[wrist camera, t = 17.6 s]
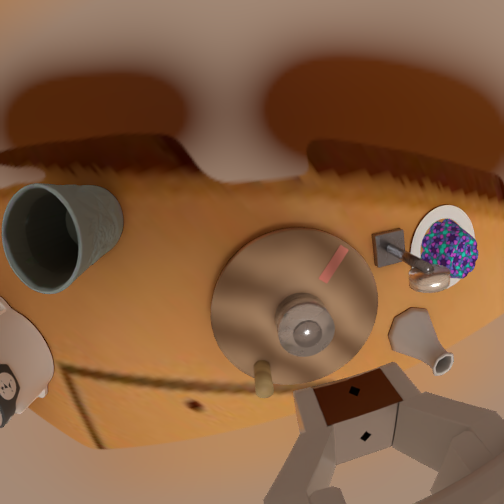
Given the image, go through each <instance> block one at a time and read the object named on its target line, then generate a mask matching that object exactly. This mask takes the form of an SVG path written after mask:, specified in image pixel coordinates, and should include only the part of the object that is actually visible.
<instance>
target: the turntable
mask: <svg viewBox="0 0 504 504" xmlns="http://www.w3.org/2000/svg"><path fill="white" fill-rule="evenodd" d="M302 292H303V293H310V294H313V295H315V296H316V297H318V298H319V299H320V300H321V301H322V303H323V304H324V306H325V308H326V309H327V311H328V312H329V314H330V316H331V317H332V319H333V321H334V325H335V332H334V336H333V339H332V341H331V342H330V344H329V345H328V346H327V347H326V348H325V349H324V350H322V351H321V352H319V353H317V354H315V355H312V356H307V357H299V356H294V355H292V354H290V353H288V352H287V351H286V350H285V349H284V348H283V347H282V346H281V344H280V341H279V337H278V333H277V328H276V324H275V312H276V309H277V307H278V306H279V304H280V303H281V302H282V301H283V300H284V299H285V298H287V297H288V296H290V295H292V294H295V293H302ZM377 308H378V293H377V287H376V283H375V279H374V276H373V274H372V272H371V270H370V268H369V266H368V264H367V263H366V261H365V260H364V259H363V257H362V256H361V255H360V254H359V253H358V252H357V251H356V250H355V249H354V248H352V247H351V246H350V245H348V244H347V243H346V242H344V241H343V240H341V239H339V238H338V237H336V236H334V235H332V234H330V233H327V232H324V231H321V230H317V229H312V228H302V227H296V228H285V229H280V230H276V231H272V232H269V233H266V234H264V235H262V236H260V237H258V238H256V239H254V240H252V241H251V242H249V243H248V244H246V245H245V246H244V247H242V248H241V249H240V250H239V251H238V252H237V253H236V254H235V255H234V256H233V257H232V258H231V259H230V260H229V261H228V263H227V264H226V266H225V267H224V269H223V270H222V272H221V274H220V276H219V278H218V280H217V283H216V286H215V289H214V294H213V299H212V305H211V323H212V329H213V333H214V337H215V339H216V341H217V344H218V346H219V347H220V349H221V351H222V352H223V354H224V355H225V356H226V357H227V359H228V360H229V361H230V362H231V363H232V364H233V365H234V366H235V367H237V368H238V369H239V370H241V371H242V372H244V373H245V374H247V375H249V376H251V377H253V378H255V390H256V395H257V396H258V397H260V398H268V397H270V396H271V395H272V394H273V393H274V389H273V383H274V384H289V385H292V384H302V383H306V382H311V381H314V380H317V379H320V378H323V377H325V376H327V375H329V374H331V373H333V372H335V371H336V370H338V369H340V368H341V367H342V366H344V365H345V364H346V363H348V362H349V361H350V360H351V359H352V358H353V357H354V356H355V355H356V354H357V353H358V352H359V350H360V349H361V348H362V346H363V345H364V344H365V342H366V341H367V339H368V337H369V335H370V333H371V331H372V328H373V326H374V323H375V319H376V315H377Z"/></svg>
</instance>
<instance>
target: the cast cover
mask: <svg viewBox="0 0 504 504" xmlns="http://www.w3.org/2000/svg"><path fill="white" fill-rule="evenodd" d="M275 324H276V328H277V333H278V337H279V341H280V344H281V346H282V347H283V348H284V349H285V350H286V351H287V352H288V353H290V354H292V355H294V356H299V357H307V356H312V355H315V354H317V353H319V352H321V351H322V350H324V349H325V348H326V347H327V346H328V345H329V344H330V342H331V341H332V339H333V336H334V332H335V325H334V321H333V319H332V317H331V316H330V314H329V312H328V311H327V309H326V308H325V306H324V304H323V303H322V301H321V300H320V299H319V298H318V297H316V296H315V295H313V294H310V293H303V292H302V293H295V294H292V295H290V296H288V297H287V298H285V299H284V300H283V301H282V302H281V303H280V304H279V306H278V307H277V309H276V312H275Z"/></svg>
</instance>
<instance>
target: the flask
mask: <svg viewBox="0 0 504 504" xmlns="http://www.w3.org/2000/svg"><path fill="white" fill-rule="evenodd" d="M388 337H389V340H390V344H391V347H392V350H393V351H396V352H399V353H402V354H405V355H408V356H411V357H414V358H417V359H419V360H421V361H423V362H424V363H427V364H428V365H429V366H430V367H431V368H432V369H433V374H434V375H435V376H437V375H443V374H444V373H446V372H447V371H449V370H450V368H451V366H452V364H453V362H454V358H453V354H452V353H448V352H447V351H446V350H445V349H444V348H443V347H442V345H441V343H440V342H439V340H438V338H437V335H436V333H435V330H434V328H433V325H432V322H431V319H430V316H429V313H428V311H427V309H421V308H410V309H408V310H407V311H405V312H403V313H401V314H400V315H398V316H396V317H395V318H394V321H393V324H392V326H391V329H390V332H389V335H388Z"/></svg>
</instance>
